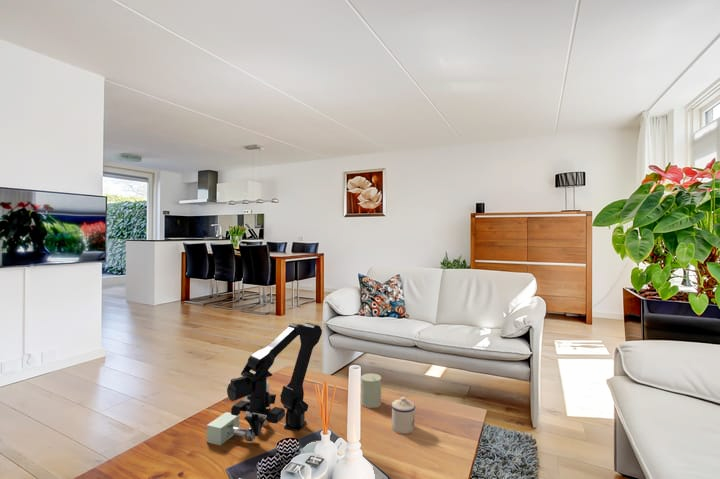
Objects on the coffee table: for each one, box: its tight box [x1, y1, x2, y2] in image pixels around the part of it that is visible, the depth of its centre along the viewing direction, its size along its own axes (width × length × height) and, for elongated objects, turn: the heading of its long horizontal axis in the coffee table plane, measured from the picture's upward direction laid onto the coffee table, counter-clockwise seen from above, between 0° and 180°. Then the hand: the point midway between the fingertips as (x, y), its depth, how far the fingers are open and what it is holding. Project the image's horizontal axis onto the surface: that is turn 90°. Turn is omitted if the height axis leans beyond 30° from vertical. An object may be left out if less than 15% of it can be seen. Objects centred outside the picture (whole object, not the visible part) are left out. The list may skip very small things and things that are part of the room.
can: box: [360, 372, 382, 409], centre depth 154 cm, size 9×9×12 cm
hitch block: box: [206, 411, 240, 446], centre depth 127 cm, size 6×10×6 cm, turn 161°
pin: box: [226, 425, 256, 443], centre depth 125 cm, size 12×4×4 cm, turn 71°
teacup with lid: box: [391, 396, 416, 435], centre depth 135 cm, size 12×9×12 cm
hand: (257, 435), depth 122 cm, fingers closed
